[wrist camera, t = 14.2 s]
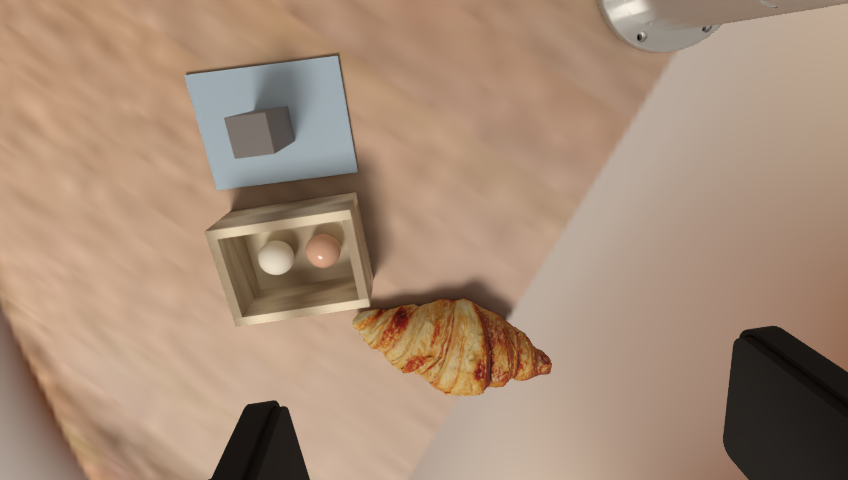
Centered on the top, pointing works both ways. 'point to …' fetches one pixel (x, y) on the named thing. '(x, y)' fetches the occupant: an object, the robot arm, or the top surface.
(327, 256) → the ball terracotta
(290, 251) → the ball cream
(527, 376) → the croissant
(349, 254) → the box
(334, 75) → the lid
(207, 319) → the top surface
